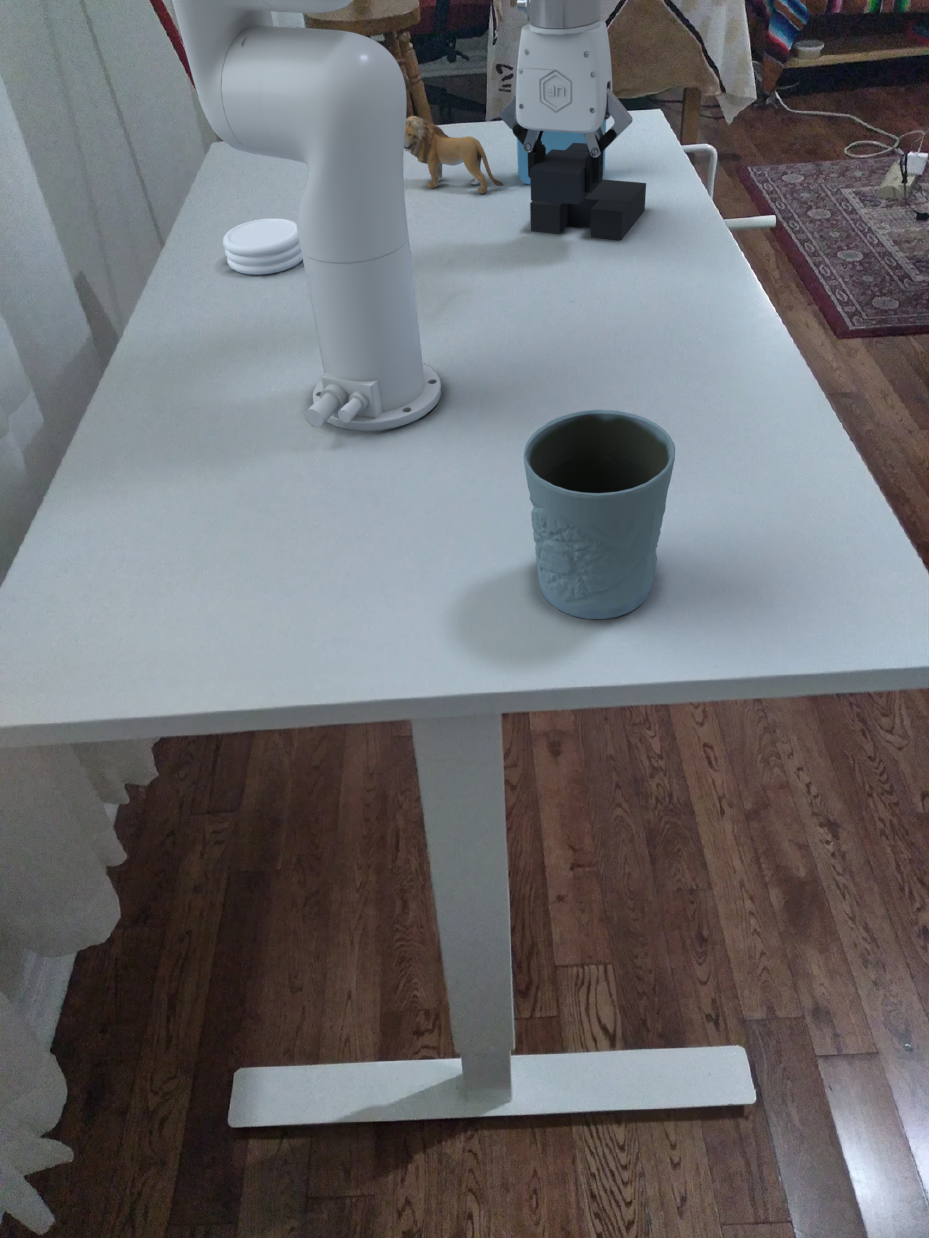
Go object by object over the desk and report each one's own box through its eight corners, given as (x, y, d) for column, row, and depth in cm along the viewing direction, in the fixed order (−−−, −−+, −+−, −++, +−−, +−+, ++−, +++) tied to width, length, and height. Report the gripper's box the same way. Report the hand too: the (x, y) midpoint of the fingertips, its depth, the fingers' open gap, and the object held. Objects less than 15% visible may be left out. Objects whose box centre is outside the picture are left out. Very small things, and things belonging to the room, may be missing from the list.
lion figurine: (399, 190, 137) (392, 122, 131) (413, 177, 141) (407, 110, 135) (497, 196, 133) (494, 126, 127) (509, 182, 137) (507, 113, 131)
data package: (602, 169, 138) (604, 76, 130) (604, 180, 135) (607, 85, 126) (517, 174, 139) (515, 82, 130) (518, 186, 135) (515, 91, 127)
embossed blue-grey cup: (650, 537, 77) (660, 404, 68) (675, 624, 69) (690, 486, 61) (522, 547, 77) (517, 415, 69) (533, 635, 69) (529, 499, 61)
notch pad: (621, 240, 119) (622, 211, 117) (530, 231, 123) (529, 203, 121) (644, 210, 126) (646, 183, 123) (558, 202, 130) (558, 175, 127)
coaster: (215, 275, 120) (208, 247, 118) (247, 243, 127) (241, 216, 125) (290, 278, 118) (284, 249, 116) (318, 245, 125) (313, 217, 122)
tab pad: (579, 205, 111) (579, 173, 109) (530, 200, 113) (529, 169, 111) (606, 175, 117) (606, 144, 115) (559, 171, 119) (559, 141, 117)
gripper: (475, 17, 102) (485, 192, 115) (633, 21, 96) (625, 205, 109) (503, 1, 107) (509, 170, 119) (654, 3, 101) (645, 181, 113)
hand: (565, 185), depth 114 cm, fingers closed on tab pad, 6 cm apart
